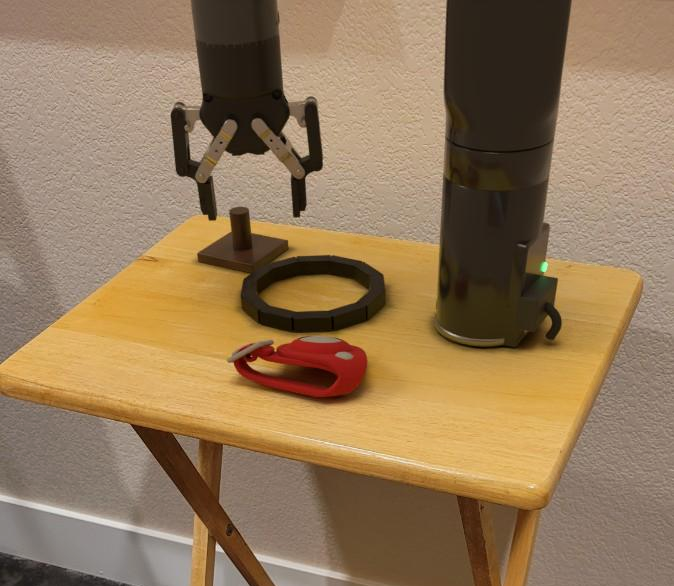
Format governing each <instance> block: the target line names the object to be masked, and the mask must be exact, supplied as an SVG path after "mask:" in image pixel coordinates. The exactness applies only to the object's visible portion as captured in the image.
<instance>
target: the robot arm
mask: <svg viewBox="0 0 674 586" xmlns="http://www.w3.org/2000/svg"><path fill="white" fill-rule="evenodd" d="M572 3H573V0H446V3H445V29H444V30H445V31H444V63H443V64H444V65H443V66H444V67H443V88H442V89H443V92H442V93H443V104H444V111H445V128H444V148H443V150H444V151H443V169H442V170H443V171H442V190H441V211H440V227H439V248H438V249H439V250H438V265H437V288H436V289H437V290H436V300H435V301H436V302H435V311H436V312H435V314H434V327H435V330H437V332H438V333H439V334H440V335H441V336H443V337H444V338H446V339H448V340H449V341H452V342H455V343H458V344H462V345H465V346H466V345H467V346H472V347H498V346H500V347H501V346H507V347H511V348H516V347H517V346H518V345H519V344H520V343H521V342H522V340H523V339H524V338H525V337H526V336H527V335H528V334H529V333H530V332H531V333H535V332H536V331H537V329H539V327H540V326H541V324H543V322H544V321H545V320H546V318H548V317H549V318H550V320H551V326H550V327H549V329H548V330H547V332H546V334H545V338H546V339H547V340H550V341H554V340H556V338H557V336H558V334H559V333H560V331H561V329H562V326H563V319H562V316H561V314H560V311H559V310H558V309H557V308H556V307H555V304H556V303H555V302H556V295H557V290H558V283H559V278H558V277H554V276H548V275H545V272H546V271H547V269H548V263H547V261H546V260H547V252H548V245H549V237H550V231H551V225H550V223H548V222H544V221H545V213H546V207H547V199H548V191H549V182H550V177H551V168H552V160H553V152H554V145H555V136H556V129H557V121H558V116H559V115H558V114H559V108H560V99H561V90H562V80H563V79H562V78H563V73H564V63H565V57H566V49H567V41H568V34H569V26H570V18H571V13H572V12H571V11H572V5H573V4H572ZM190 8H191V16H192V24H193V32H194V40H195V47H196V55H197V64H198V71H199V79H200V87H201V94H202V100H201V105H186V104H185V103H184V102H183V101H176V102H175V103H174V105H173V107H172V110H171V112H170V124H171V125H170V126H171V137H172V145H173V153H174V154H173V157H174V167H175V173H176V174H177V175H178V176H179V177H181V178H185V177H187V178H190V179H192V180H194V181H195V184H196V186H197V193H198V199H199V208H200V211H201V213H202V215H203V216H207V219H208V221H209V222H211V221H212V222H213V221H214V222H215V221H217V219H218V207H217V201H216V200H217V199H216V193H215V184H214V177H213V175H211V174H212V173H213V170H214V169H215V167H216V165H218V163H219V161H220V160H221V158H222V156H223V154H224V153H225V152H226V153H228V154H230V155H231V156H232V157H239V156H243V155H246V154H250V155H255V156H264V155H265V154H266V153H268V152H269V151H271V152H272V153H273V155H274V156H275V157H276V159H277V160H278V161H279V162H280V163H282V164H283V165H284V166H285V167H286V169H287V170H288V172H289V173H290V190H291V191H290V192H291V204H292V217H293V218H294V219H296V218H301V212H305V211H306V208H307V206H308V205H307V203H308V202H307V199H308V198H307V184H306V178H307V176H308V175H310V174H311V173H313V172H320V171H322V170H323V167H324V161H323V160H324V154H323V143H322V133H321V124H320V115H319V104H318V103H319V102H318V100H317V98H316V97H314V96H308V97H306V98H305V100H298V101H290V102H289V100H288V99H287V97H286V94H285V91H284V78H283V67H282V53H281V52H282V51H281V37H280V22H281V21H280V19H281V18H280V11H279V8H278V0H190ZM290 117H294V118H295V119H296V122H297V125H298V126H299V127H300V128H303V129H305V128H306V129H305V130H306V139H307V145H308V147H307V148H308V154H307V155H304V156H303V157H302V156H301V155H300V154H299V152H298V151H297V150H296V149H295V147H294V146H293V144H292V142H291V141H290V139H289V137H287V135H286V134H285V133H284V132H283V129H284V128H285V126H286V124H287V123H288V121H289V119H290ZM198 121H200V122H201V124H202V125H203V126H204V127H205V129H206V130H207V131H208V132H209V134H210V135H211V136H212V139H211V141H210V142H209V145H208V146H207V148H206V151H205V153H204V154H203V156H202V157H201V159H200V161H197V160H194V159H192V158H191V147H190V146H191V145H190V136H189V133H192V132H193V131H194V129H195V127H196V126H195V125H196V122H198Z"/></svg>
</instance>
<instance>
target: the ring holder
mask: <svg viewBox="0 0 674 586" xmlns="http://www.w3.org/2000/svg"><path fill="white" fill-rule="evenodd" d="M228 214H229V215H228V216H229V222H230V232H227V234H225V235H223V236H222V237H220V238H218V239H217V240H215V241H214V242H212V243H211V244H209V245H207V246H206V247H204V248H202V249H201V250H200V251H198V252H197V253H196V256H197V261H198V262H200V263H204V264H208V265H213V266H217V267H222V268H226V269H231V270H234V271H235V270H236V271H240V272H245V273H249V274H251V273H252V272H254V271H255V270H257V269H258V268H260V267H261V266H262V265H265V264H269V263H271V261H273V260H274V259H275V258H277V257H279V256H280V255H282V254H283V253H285V252H286V251H287V250H288V249H289V240H288V239H285V238H284V239H283V238H279V237H274V236H269V235H263V234H260V233H259V234H258V233H253V232H252V226H251V216H250V209H249V207H246V206H235V207H232V208H230V209H229V210H228Z"/></svg>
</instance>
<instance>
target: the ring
mask: <svg viewBox="0 0 674 586" xmlns="http://www.w3.org/2000/svg"><path fill="white" fill-rule="evenodd" d="M328 274H329V275H334V276H338V277H343V278H348V279H352V280H355V281H356V282H358V283H359V284H360V285H362V286H363V287H365V288H366V289H368V290H369V291H367V292H366V293H365V294H363V295H362V296H361V297H360V298H359V299H357V301H356V302H352V303H349V304H345V305H342V306H338V307H335V308H331V309H328V310H304V311H303V310H302V311H295V310H292V309H287V308H282V307H279V306H274V305H270V304H269V303H267V302H266V301H265V300H263V298H261V297H260V296H259V294H260V293H261V292H262V291H264V290H266V289H267V288H268V287H269V286H271V285H272V284H273V283H275V282H278V281H281V280H285V279H289V278H292V277H296V276H299V275H300V276H301V275H302V276H303V275H328ZM240 301H241V302H240V303H241V309H242V311H244V312H245V313H246V314H247V315H248V316H249V317H250V318H252V319H253V320H254V321H255V322H256V323H258V325H262V326H265V327H268V328H269V327H270V328H274V329H278V330H282V331H286V332H290V333H293V332H294V333H314V332H315V333H317V332H319V333H321V332H334V331H338V330H341V329H344V328H347V327H351V326H354V325H358V324H360V323H363V322H366V321H369V320H370V319H371V318H372V317H374V315H375V314H376V313H378V311H380V310H381V309H382V308H383V307H384V306H385V305H386V284H385V275H384V273H382V272H381V271H379V270H378V269H376V268H374V267H373V266H371V264H368V263H367V262H365V261H363V260H359V259H355V258H350V257H344V256H339V255H335V254H332V255H331V254H321V255H319V254H315V255H296V256H291V257H287V258H283V259H280V260H276V261H273V262H269V263H267V264H265V265H262V266H261V267H260V268H258V269H257V270H255V271H254V272H252V273H249V274H248V275H246V276H245V277H244V278H243V279H242V284H241V290H240Z"/></svg>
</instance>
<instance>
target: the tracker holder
mask: <svg viewBox="0 0 674 586" xmlns="http://www.w3.org/2000/svg"><path fill="white" fill-rule="evenodd" d="M274 343H275V341H274V339H266V340H260V341H257V342H251V343H247V344H244V345H241V346H240V347H239V348H237V349H235V350H234V351H233V352H232V353H231V356H229V357H228V358H227V359H226V362H227V364H231V363H233V366H234V368H235V370H236V372H237V373H238V374H239V375H241V376H242V377H243V378H245V379H248V380H250V381H252V382H254V383H258V384H260V385H262V386H266V387H270V388H274V389H278V390H283V391H288V392H291V393H292V392H293V393H297V394H301V395H305V396H309V397H315V398H327V397H328V398H329V397H338V396H345V395H348V394H350V393H352V392H354V390H355V389H356V388H358V387H359V385H360V383H361V382H362V380H363V378H364V376H365V374H366V372H367V368H368V356H367V353H366V351H365V350H364V349H363V348H362V347H359V346H357V345H353V344H352V345H351V344H350V343H349V342H348V341H346V340H344V339H342V338H338V337H335V336H326V335H307V336H301V337H298V338H296V339H293V340H292V341H291V342H288V343H287V342H286V343H283V344H280V345H278V346H277V347H276V349H275V347H274V346H273V345H274ZM258 358H259V359H261V360H262V361H265V362H269V363H273V364H279V365H280V364H282V365H287V366H297V367H304V368H305V367H306V368H315V369H321V370H324V371H327V372H330V373H331V374H334V375H335V376H337V378H336V380H335V382H334V383H333V384H332V385H331V386H330V387H327V386H326V387H325V386H322V385H321V386H320V385H316V384H311V383H307V382H302V381H297V380H293V379H292V380H291V379H288V378H283V377H279V376H278V377H277V376H273V375H268V374H266V373H263V372H261V371H258V370H256V369H254V368H253V367H252V366H251V365H249V363H253V362H256V361H257V360H258Z"/></svg>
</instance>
